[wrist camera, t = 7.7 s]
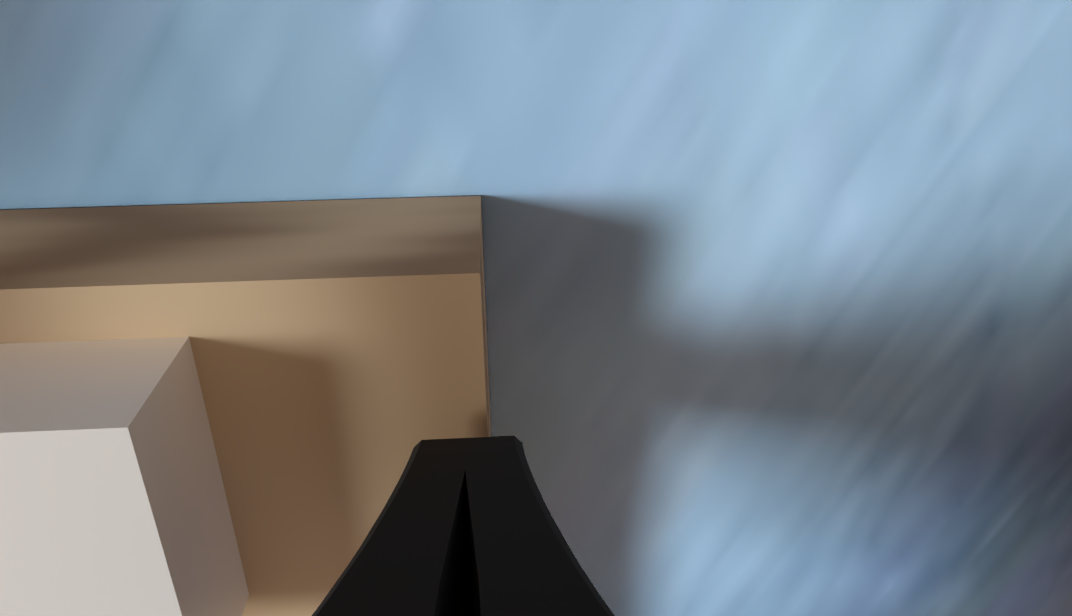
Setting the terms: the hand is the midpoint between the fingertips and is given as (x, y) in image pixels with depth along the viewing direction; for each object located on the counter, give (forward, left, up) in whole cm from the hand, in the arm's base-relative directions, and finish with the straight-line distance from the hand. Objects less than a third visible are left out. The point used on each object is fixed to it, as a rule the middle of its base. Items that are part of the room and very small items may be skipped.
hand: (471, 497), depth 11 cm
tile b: (+6, 0, -1) cm, 6 cm away
